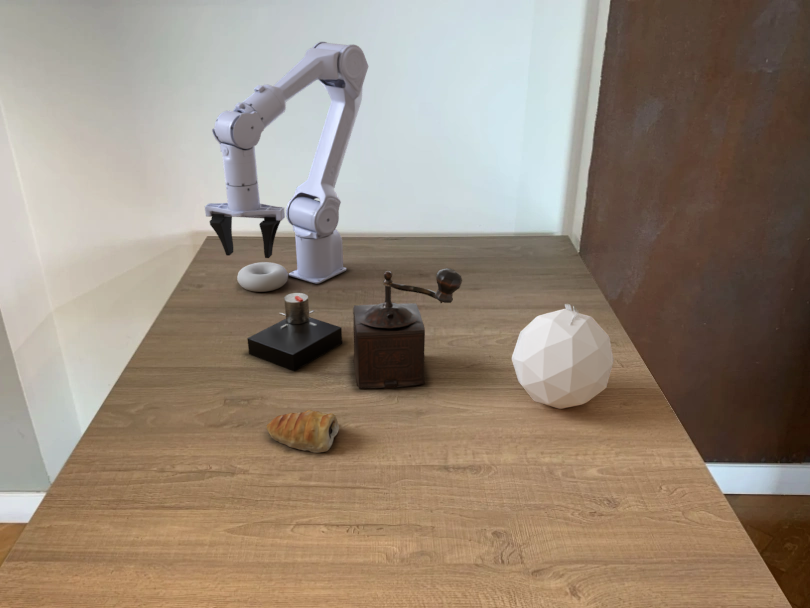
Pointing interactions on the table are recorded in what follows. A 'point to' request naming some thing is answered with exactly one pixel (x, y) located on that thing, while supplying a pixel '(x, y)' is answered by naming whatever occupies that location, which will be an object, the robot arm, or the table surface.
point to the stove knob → (296, 308)
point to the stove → (294, 342)
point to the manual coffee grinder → (395, 335)
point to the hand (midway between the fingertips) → (249, 255)
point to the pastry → (305, 430)
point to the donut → (262, 276)
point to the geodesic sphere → (563, 358)
